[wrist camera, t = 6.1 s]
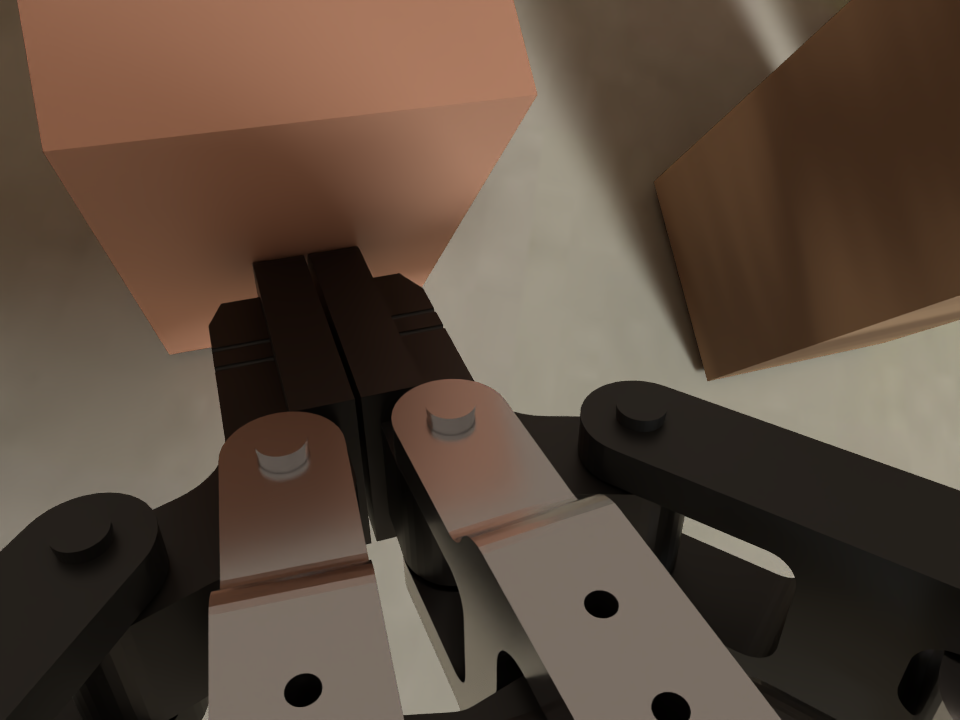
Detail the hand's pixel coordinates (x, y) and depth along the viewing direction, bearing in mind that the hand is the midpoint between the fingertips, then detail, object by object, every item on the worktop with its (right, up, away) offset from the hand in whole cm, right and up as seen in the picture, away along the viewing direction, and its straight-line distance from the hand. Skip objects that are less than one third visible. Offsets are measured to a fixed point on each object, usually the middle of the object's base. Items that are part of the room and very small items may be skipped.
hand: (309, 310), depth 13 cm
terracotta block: (-2, +2, +4) cm, 5 cm away
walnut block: (+9, +1, +7) cm, 11 cm away
